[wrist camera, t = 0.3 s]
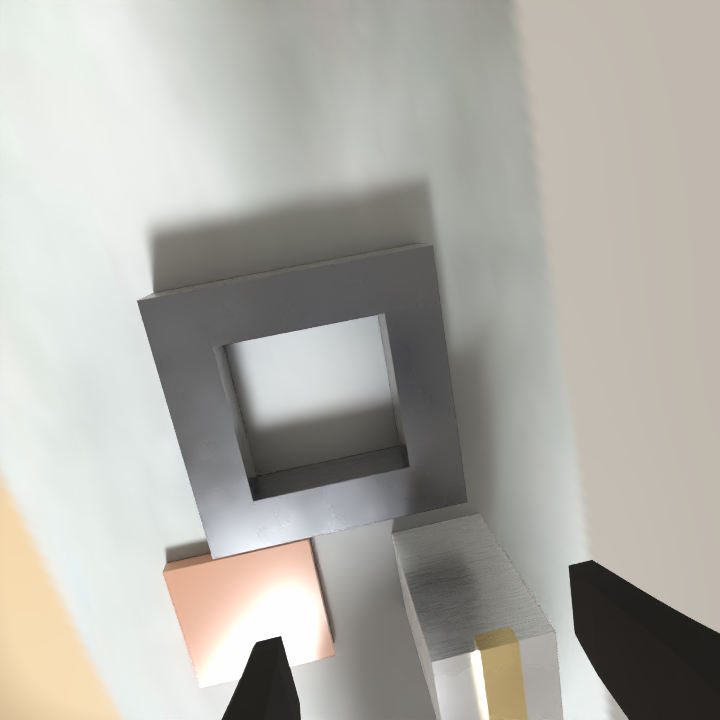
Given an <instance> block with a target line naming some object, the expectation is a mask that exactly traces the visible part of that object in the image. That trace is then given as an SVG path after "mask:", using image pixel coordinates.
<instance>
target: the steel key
mask: <svg viewBox="0 0 720 720" xmlns="http://www.w3.org/2000/svg"><path fill="white" fill-rule="evenodd" d="M392 539H393V544H394V550H395V555H396V561H397V566H398V572H399V577H400V583H401V588H402V594H403V599H404V604H405V609H406V613H407V616H408V620H409V623H410V627H411V630H412V634H413V637H414V641H415V645H416V648H417V652H418V655H419V659H420V662H421V666H422V669H423V673H424V676H425V680H426V683H427V687H428V690H429V694H430V697H431V701H432V704H433V708H434V711H435V715H436V718H437V720H563V709H562V698H561V687H560V676H559V665H558V654H557V643H556V632H555V630H554V629H553V627H552V626H551V624H550V622H549V621H548V619H547V618H546V616H545V615H544V613H543V611H542V610H541V608H540V607H539V605H538V604H537V602H536V600H535V599H534V597H533V596H532V594H531V593H530V591H529V589H528V588H527V586H526V585H525V583H524V582H523V580H522V579H521V577H520V575H519V574H518V572H517V571H516V569H515V568H514V566H513V564H512V563H511V561H510V560H509V558H508V557H507V555H506V553H505V552H504V550H503V549H502V547H501V546H500V544H499V542H498V541H497V539H496V538H495V536H494V535H493V533H492V531H491V530H490V528H489V527H488V525H487V524H486V522H485V520H484V519H483V517H482V516H481V514H480V513H478V514H474V515H469V516H465V517H460V518H456V519H452V520H447V521H443V522H438V523H434V524H429V525H425V526H421V527H416V528H412V529H407V530H403V531H399V532H394V533H392Z"/></svg>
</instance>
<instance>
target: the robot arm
mask: <svg viewBox="0 0 720 720" xmlns="http://www.w3.org/2000/svg"><path fill="white" fill-rule="evenodd" d="M569 576H570V587H571V597H572V608H573V619H574V630H575V635H576V637H577V638H578V640H579V642H580V644H581V646H582V648H583V650H584V651H585V653H586V655H587V657H588V659H589V660H590V662H591V664H592V666H593V667H594V669H595V671H596V673H597V674H598V676H599V677H600V679H601V680H602V682H603V683H604V685H605V686H606V688H607V689H608V690H609V692H610V693H611V695H612V696H613V698H614V699H615V700H616V702H617V703H618V705H619V706H620V708H621V709H622V710H623V712H624V713H625V715H626V716H627V717H628V719H629V720H720V633H718V632H716V631H714V630H712V629H710V628H708V627H706V626H704V625H702V624H701V623H699V622H696V621H695V620H693V619H691V618H689V617H687V616H686V615H684V614H682V613H680V612H678V611H677V610H675V609H673V608H671V607H669V606H668V605H666V604H664V603H663V602H661V601H659V600H657V599H656V598H654V597H652V596H651V595H649V594H647V593H646V592H644V591H642V590H640V589H639V588H637V587H636V586H634V585H632V584H630V583H629V582H627V581H626V580H624V579H622V578H621V577H619V576H618V575H616V574H614V573H613V572H611V571H609V570H608V569H606V568H604V567H603V566H601V565H600V564H598V563H596V562H595V561H593V560H590V561H586V562H582V563H578V564H573V565H569ZM222 720H301V716H300V702H299V698H298V695H297V691H296V687H295V684H294V680H293V676H292V673H291V669H290V665H289V661H288V658H287V654H286V650H285V647H284V643H283V639H282V636H278V637H273V638H269V639H265V640H261V641H257V642H256V643H255V644H254V646H253V647H252V650H251V653H250V655H249V658H248V660H247V663H246V666H245V668H244V671H243V673H242V675H241V678H240V680H239V682H238V685H237V687H236V689H235V692H234V694H233V696H232V698H231V701H230V703H229V705H228V707H227V709H226V711H225V713H224V716H223V718H222Z"/></svg>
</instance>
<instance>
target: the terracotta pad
mask: <svg viewBox="0 0 720 720" xmlns="http://www.w3.org/2000/svg"><path fill="white" fill-rule="evenodd" d="M163 575H164V578H165V581H166V584H167V587H168V591H169V594H170V597H171V600H172V603H173V606H174V609H175V612H176V615H177V618H178V621H179V624H180V627H181V630H182V634H183V637H184V640H185V643H186V646H187V649H188V652H189V655H190V658H191V661H192V664H193V667H194V670H195V673H196V676H197V680H198V683H199V686H200V688H202V687H207V686H211V685H215V684H219V683H223V682H227V681H231V680H236V679H240V678H241V675H242V673H243V671H244V668H245V666H246V663H247V660H248V658H249V655H250V653H251V650H252V647H253V646H254V644H255V643H256V642H257V641H261V640H265V639H269V638H273V637H278V636H282V639H283V643H284V647H285V650H286V654H287V658H288V661H289V665H290V666H294V665H298V664H302V663H306V662H310V661H314V660H318V659H323V658H327V657H331V656H335V649H334V642H333V638H332V634H331V630H330V625H329V621H328V617H327V612H326V608H325V604H324V599H323V595H322V591H321V586H320V582H319V578H318V574H317V569H316V565H315V561H314V556H313V552H312V548H311V543H310V539H309V538H305V539H300V540H296V541H291V542H287V543H282V544H278V545H273V546H269V547H264V548H260V549H256V550H251V551H247V552H242V553H238V554H233V555H229V556H224V557H220V558H216V559H212V555H211V553H210V554H206V555H202V556H197V557H193V558H188V559H184V560H179V561H175V562H170V563H166V565H165V568H164V570H163Z"/></svg>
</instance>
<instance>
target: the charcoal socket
mask: <svg viewBox="0 0 720 720" xmlns="http://www.w3.org/2000/svg"><path fill="white" fill-rule="evenodd" d="M137 303H138V306H139V309H140V313H141V316H142V320H143V323H144V327H145V330H146V333H147V337H148V340H149V344H150V347H151V350H152V354H153V357H154V361H155V364H156V367H157V371H158V374H159V378H160V381H161V385H162V388H163V391H164V395H165V398H166V402H167V405H168V408H169V412H170V415H171V419H172V422H173V425H174V429H175V432H176V436H177V439H178V443H179V446H180V449H181V453H182V456H183V460H184V463H185V466H186V470H187V473H188V477H189V480H190V483H191V487H192V490H193V494H194V497H195V501H196V504H197V507H198V511H199V514H200V518H201V521H202V524H203V528H204V531H205V535H206V538H207V541H208V545H209V548H210V552H211V555H212V559H216V558H220V557H224V556H229V555H233V554H238V553H242V552H247V551H251V550H256V549H260V548H264V547H269V546H273V545H278V544H282V543H287V542H291V541H296V540H300V539H305V538H309V537H313V536H318V535H322V534H327V533H331V532H336V531H340V530H345V529H349V528H353V527H358V526H362V525H367V524H371V523H376V522H380V521H385V520H389V519H394V518H398V517H402V516H407V515H411V514H416V513H420V512H425V511H429V510H434V509H438V508H442V507H447V506H451V505H456V504H460V503H465V502H467V497H466V490H465V482H464V475H463V467H462V460H461V453H460V445H459V438H458V430H457V423H456V416H455V408H454V401H453V394H452V386H451V379H450V371H449V364H448V357H447V349H446V342H445V335H444V327H443V320H442V312H441V305H440V298H439V290H438V283H437V275H436V268H435V261H434V253H433V246H432V245H429V244H422V243H416V244H411V245H406V246H401V247H395V248H390V249H385V250H379V251H374V252H369V253H363V254H358V255H353V256H347V257H342V258H337V259H331V260H326V261H321V262H316V263H310V264H305V265H300V266H294V267H289V268H284V269H278V270H273V271H268V272H262V273H257V274H252V275H247V276H241V277H236V278H231V279H225V280H220V281H215V282H209V283H204V284H199V285H193V286H188V287H183V288H177V289H172V290H167V291H162V292H156V293H152V294H150V295H148V296H146V297H144V298H142V299H140V300H138V301H137ZM373 315H378V319H379V325H380V331H381V336H382V342H383V348H384V354H385V360H386V366H387V372H388V378H389V384H390V390H391V396H392V402H393V407H394V413H395V419H396V425H397V431H398V437H399V443H400V446H396V447H392V448H387V449H382V450H378V451H373V452H368V453H364V454H359V455H355V456H350V457H345V458H341V459H336V460H331V461H327V462H322V463H317V464H313V465H308V466H303V467H299V468H294V469H289V470H285V471H280V472H275V473H271V474H266V475H262V476H257V475H256V471H255V467H254V463H253V459H252V455H251V451H250V447H249V444H248V440H247V436H246V432H245V428H244V424H243V420H242V416H241V412H240V408H239V404H238V400H237V396H236V392H235V388H234V384H233V380H232V377H231V373H230V369H229V365H228V361H227V357H226V353H225V349H224V345H226V344H231V343H236V342H241V341H246V340H251V339H257V338H262V337H267V336H272V335H277V334H282V333H287V332H292V331H297V330H302V329H307V328H312V327H317V326H323V325H328V324H333V323H338V322H343V321H348V320H353V319H358V318H363V317H368V316H373Z"/></svg>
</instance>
